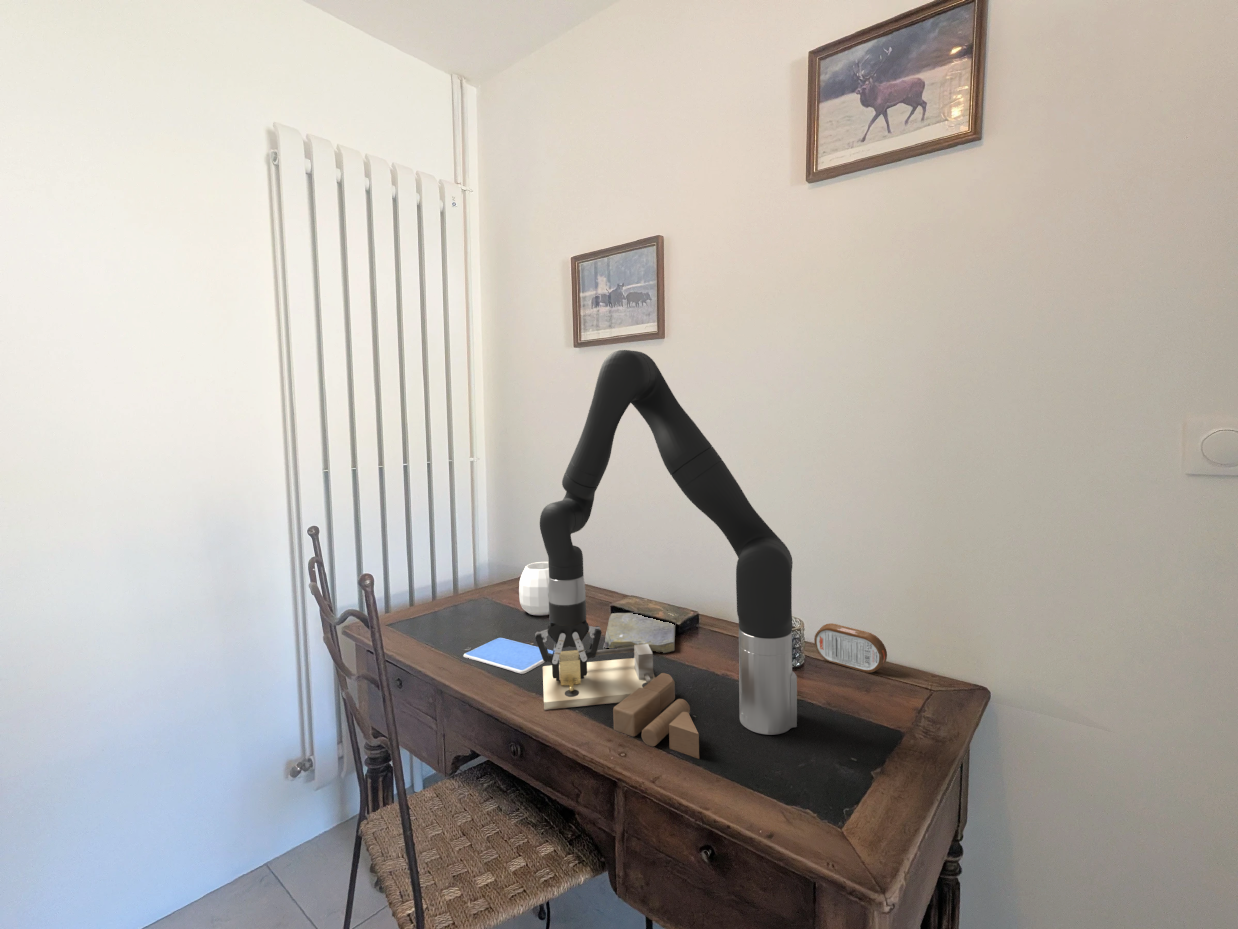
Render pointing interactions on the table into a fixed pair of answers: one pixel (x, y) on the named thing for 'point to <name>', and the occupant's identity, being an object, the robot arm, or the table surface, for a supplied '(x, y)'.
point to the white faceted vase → (535, 588)
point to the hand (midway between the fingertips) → (570, 677)
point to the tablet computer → (508, 655)
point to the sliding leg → (569, 668)
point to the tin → (850, 647)
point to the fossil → (639, 632)
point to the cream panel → (602, 680)
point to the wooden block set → (658, 716)
